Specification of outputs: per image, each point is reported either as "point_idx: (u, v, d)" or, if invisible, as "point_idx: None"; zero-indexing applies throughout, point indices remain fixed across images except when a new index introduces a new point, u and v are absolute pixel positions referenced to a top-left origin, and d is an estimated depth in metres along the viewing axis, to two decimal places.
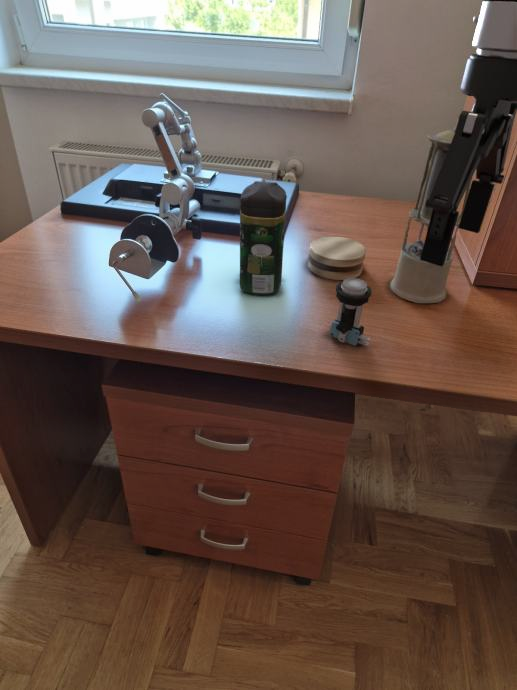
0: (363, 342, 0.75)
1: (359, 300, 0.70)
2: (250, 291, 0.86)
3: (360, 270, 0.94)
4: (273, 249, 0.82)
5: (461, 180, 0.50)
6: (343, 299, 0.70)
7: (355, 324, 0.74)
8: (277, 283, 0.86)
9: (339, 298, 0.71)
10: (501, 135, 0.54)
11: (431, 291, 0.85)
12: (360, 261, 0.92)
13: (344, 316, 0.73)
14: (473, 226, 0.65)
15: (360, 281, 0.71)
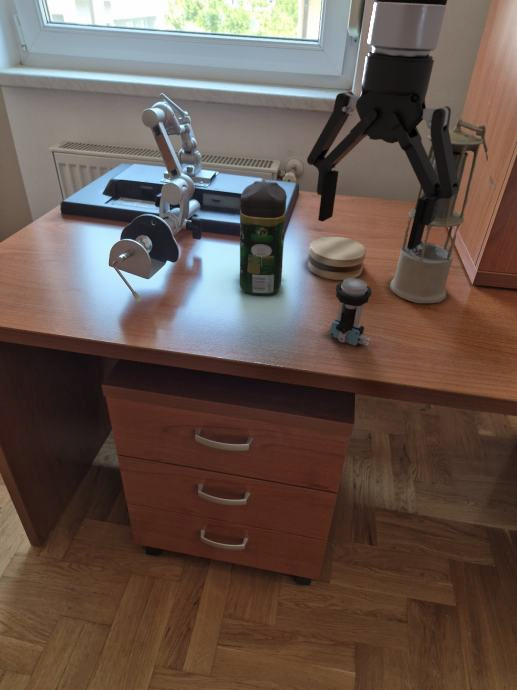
0: (363, 342, 0.75)
1: (359, 300, 0.70)
2: (250, 291, 0.86)
3: (360, 270, 0.94)
4: (273, 249, 0.82)
5: (319, 141, 0.63)
6: (343, 299, 0.70)
7: (355, 324, 0.74)
8: (277, 283, 0.86)
9: (339, 298, 0.71)
10: None
11: (431, 290, 0.85)
12: (360, 261, 0.92)
13: (344, 316, 0.73)
14: None
15: (360, 281, 0.71)
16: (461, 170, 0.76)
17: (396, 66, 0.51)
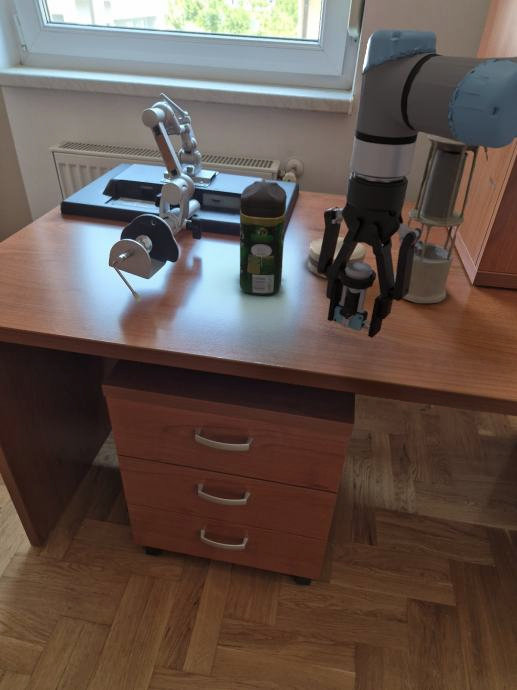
0: (367, 328, 0.73)
1: (363, 283, 0.68)
2: (250, 291, 0.86)
3: None
4: (273, 249, 0.82)
5: (322, 253, 0.70)
6: (347, 282, 0.68)
7: (359, 309, 0.72)
8: (277, 283, 0.86)
9: (343, 281, 0.69)
10: None
11: (431, 290, 0.85)
12: (360, 261, 0.92)
13: (348, 301, 0.72)
14: None
15: (364, 264, 0.70)
16: (461, 170, 0.76)
17: (374, 190, 0.59)
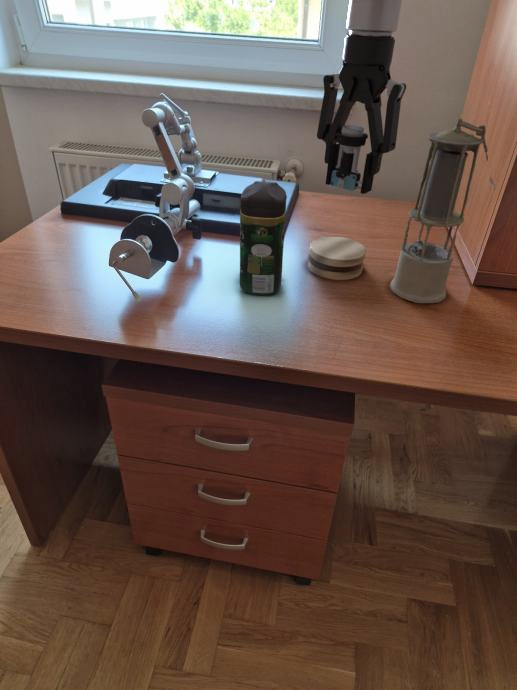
0: (360, 187, 0.84)
1: (357, 140, 0.79)
2: (250, 291, 0.86)
3: (360, 270, 0.94)
4: (273, 249, 0.82)
5: (321, 118, 0.81)
6: (342, 140, 0.79)
7: (353, 169, 0.83)
8: (277, 283, 0.86)
9: (339, 141, 0.80)
10: (364, 95, 0.75)
11: (431, 290, 0.85)
12: (360, 261, 0.92)
13: (343, 161, 0.82)
14: None
15: (358, 126, 0.80)
16: (461, 170, 0.76)
17: (366, 43, 0.69)
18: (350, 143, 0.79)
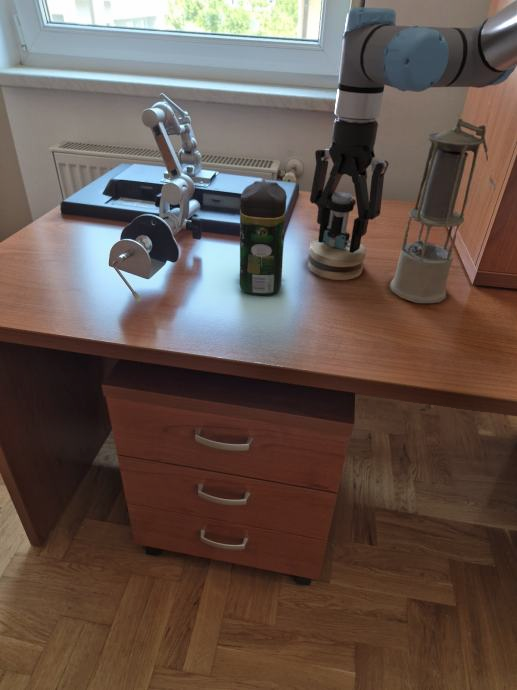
0: (349, 246, 0.93)
1: (345, 207, 0.88)
2: (250, 291, 0.86)
3: (360, 270, 0.94)
4: (273, 249, 0.82)
5: (313, 186, 0.90)
6: (333, 207, 0.88)
7: (342, 230, 0.92)
8: (277, 283, 0.86)
9: (330, 207, 0.89)
10: (351, 169, 0.84)
11: (431, 290, 0.85)
12: (360, 261, 0.92)
13: (334, 224, 0.91)
14: None
15: (346, 193, 0.89)
16: (461, 170, 0.76)
17: (352, 129, 0.78)
18: (339, 209, 0.88)
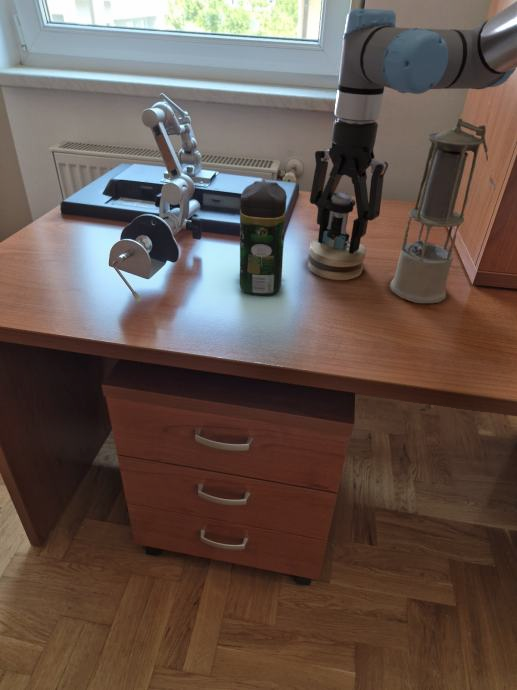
0: (348, 247, 0.93)
1: (345, 208, 0.88)
2: (250, 291, 0.86)
3: (360, 270, 0.94)
4: (273, 249, 0.82)
5: (313, 186, 0.90)
6: (332, 208, 0.89)
7: (342, 231, 0.92)
8: (277, 283, 0.86)
9: (329, 207, 0.89)
10: None
11: (431, 290, 0.85)
12: (360, 261, 0.92)
13: (333, 224, 0.92)
14: None
15: (346, 194, 0.90)
16: (461, 170, 0.76)
17: (352, 130, 0.79)
18: (339, 210, 0.88)
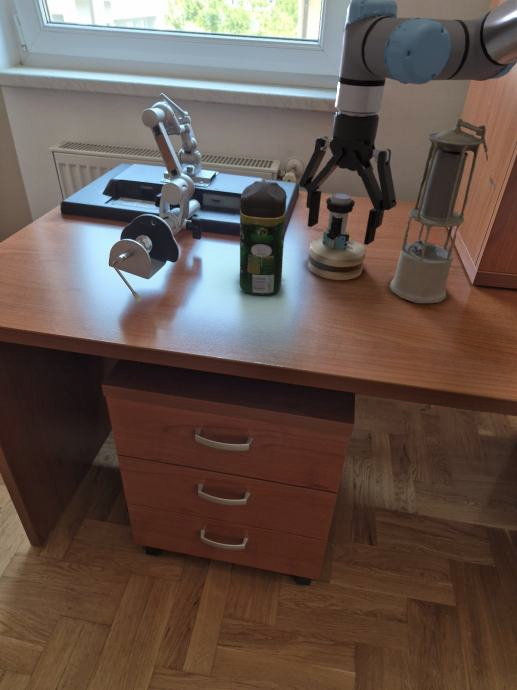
0: (348, 247, 0.93)
1: (344, 208, 0.88)
2: (250, 291, 0.86)
3: (360, 270, 0.94)
4: (273, 249, 0.82)
5: (306, 171, 0.90)
6: (332, 208, 0.89)
7: (342, 231, 0.92)
8: (277, 283, 0.86)
9: (329, 208, 0.89)
10: (354, 164, 0.83)
11: (431, 290, 0.85)
12: (360, 261, 0.92)
13: (333, 225, 0.92)
14: None
15: (345, 194, 0.90)
16: (461, 170, 0.76)
17: (353, 123, 0.78)
18: (338, 210, 0.88)
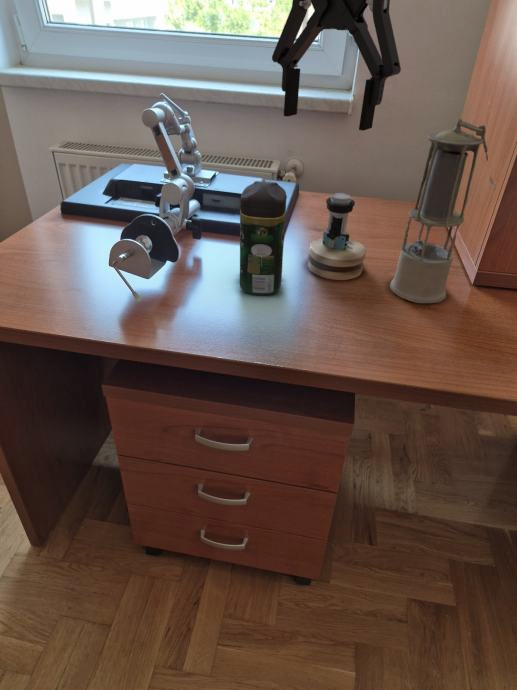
0: (348, 247, 0.93)
1: (344, 208, 0.88)
2: (250, 291, 0.86)
3: (360, 270, 0.94)
4: (273, 249, 0.82)
5: (281, 38, 0.71)
6: (332, 208, 0.89)
7: (342, 231, 0.92)
8: (277, 283, 0.86)
9: (329, 208, 0.89)
10: (343, 18, 0.64)
11: (431, 290, 0.85)
12: (360, 261, 0.92)
13: (333, 225, 0.92)
14: None
15: (345, 194, 0.90)
16: (461, 170, 0.76)
17: None
18: (338, 210, 0.88)
